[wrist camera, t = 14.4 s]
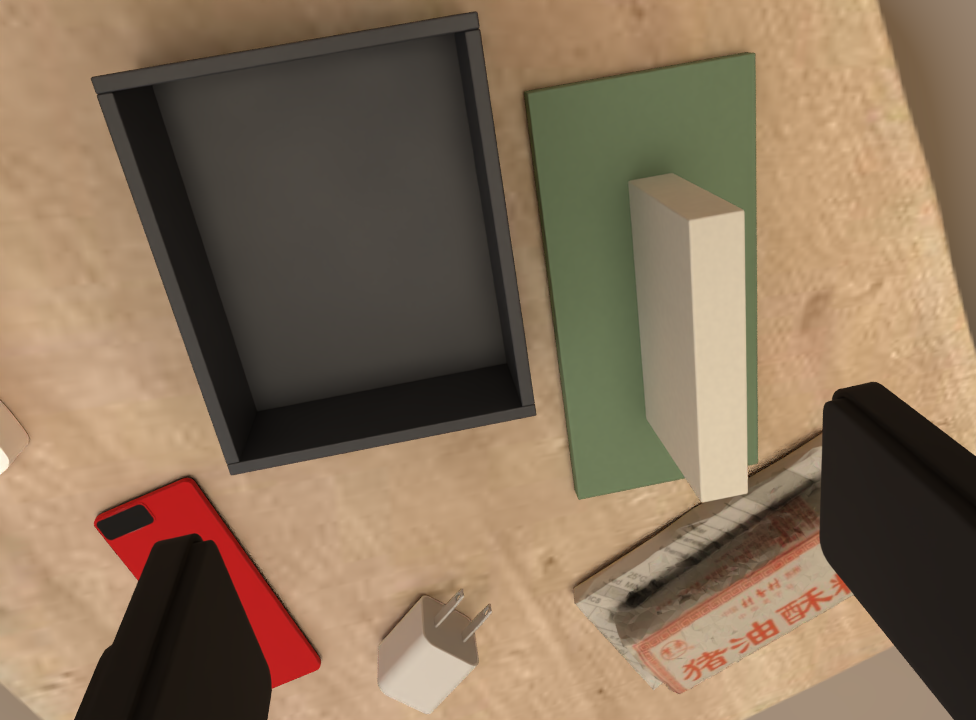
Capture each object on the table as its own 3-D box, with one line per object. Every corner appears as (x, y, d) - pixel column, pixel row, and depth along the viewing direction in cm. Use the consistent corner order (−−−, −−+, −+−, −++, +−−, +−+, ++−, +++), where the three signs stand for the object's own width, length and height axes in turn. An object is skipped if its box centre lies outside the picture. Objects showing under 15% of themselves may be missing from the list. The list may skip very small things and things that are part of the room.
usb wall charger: (378, 639, 46) (377, 691, 43) (446, 562, 45) (452, 609, 41) (430, 665, 48) (434, 717, 44) (499, 591, 46) (508, 639, 42)
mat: (523, 91, 34) (527, 93, 34) (746, 52, 35) (755, 52, 34) (574, 490, 44) (578, 500, 43) (750, 454, 44) (758, 463, 43)
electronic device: (323, 661, 46) (191, 473, 40) (323, 669, 46) (188, 479, 40) (237, 697, 47) (93, 516, 40) (236, 704, 46) (89, 522, 40)
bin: (135, 69, 32) (89, 77, 27) (464, 13, 33) (477, 11, 28) (250, 418, 39) (230, 476, 34) (518, 367, 40) (536, 415, 35)
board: (627, 180, 36) (688, 220, 28) (672, 172, 36) (745, 209, 29) (645, 419, 41) (701, 503, 34) (685, 411, 41) (748, 494, 34)
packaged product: (872, 467, 39) (937, 583, 43) (824, 423, 44) (886, 531, 48) (585, 645, 42) (670, 739, 46) (566, 586, 46) (645, 676, 50)
